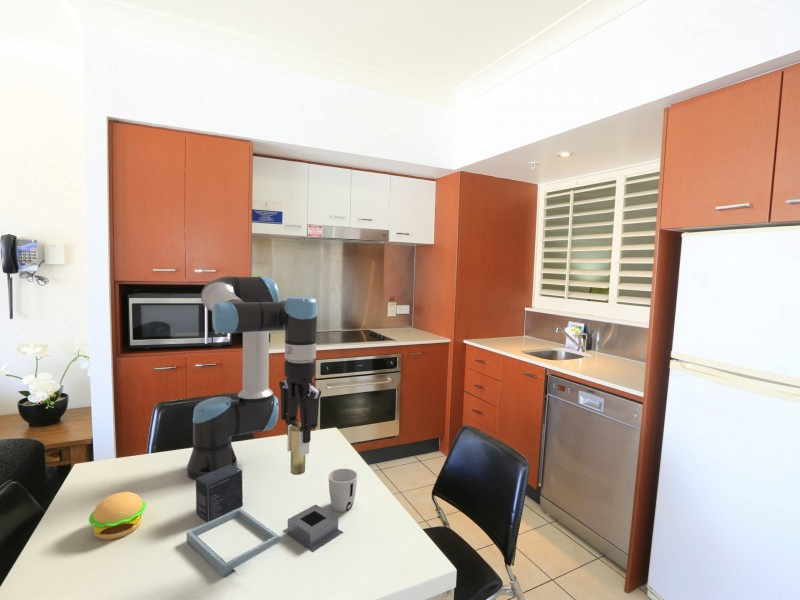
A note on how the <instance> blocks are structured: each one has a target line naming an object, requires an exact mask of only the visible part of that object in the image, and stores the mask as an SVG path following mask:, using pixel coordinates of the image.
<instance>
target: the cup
mask: <svg viewBox="0 0 800 600" xmlns="http://www.w3.org/2000/svg"><path fill="white" fill-rule="evenodd" d="M357 485H358V472H357V471H356V470H354V469H351V468H337V469H334V470H332V471H330V472H329V474H328V491H329V492H328V493H329V497H330V504H331V507H332V510H334V511H336V512H341V513H342V512H343V513H344V512H348V511H349V510H351V509H353V505H354V503H355V497H356V493H357Z"/></svg>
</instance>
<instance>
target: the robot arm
mask: <svg viewBox="0 0 800 600" xmlns="http://www.w3.org/2000/svg"><path fill="white" fill-rule="evenodd" d="M200 295H201V296H200V298H201V299H200V300H201V302H202V304H203V305H204V307H205V308H206V309H207V310H209V311H210V312H211V315H212V316H211V320H212V322H211V323H212V329H213V331H214V332H215V333H218V334H219V333H220V334H229V335H230V334H234V333H242V390H241V391H239V392H238V394H237V400H232V398H231V397H229V396H216V397H211V398H207V399H205V400H203V401H200V402H198V403H197V405H195V407H194V409H193V412H192V413H193V418H192V423H193V424H192V425H193V426H192V427H193V429H192V430H193V433H192V441H193V442H192V451H191V454H190V456H189V457H190V458H189V460H188V462H187V465H186V474H187V477H188V478H190V479H192V480H195V481H196V478H198V477H200V476H203V475H205V474H208V473H210V472H213V471H215V470H218V469H220V468H223V467H225V466H228V465H232V466H235V467H237V466H238V461H237V455H236V453H235V451H234V448H233V445H232V437H236V436H237V437H238V436H244V435H248V434H254V433H255V434H256V433H262V432H265V431H270V430H272V429H273V428H274V427H275V426H276V425H277V422H278V417H279V409H280V419H281V420H282V421H285V424H286V436H287V451H288V452H291V425H292V424H293V423H296V422H299V419H298V418H297V416H298V411H299V416H300V417H299V418H300V422H301V429H299V451H298V456H300V457H301V456H303V455H308V454H310V442H311V438H312V437H311V435H312V434H311V431H312V430H313V429H316V428H318V423H319V407H320V406H319V405H320V404H319V403H320V398H321V395H322V390H321V389H317V388H316V387H314V385H315V384H314V380H313V378H314V377H315V374H316V370H317V369H316V368H317V367H316V366H317V365H316V361H315V359H316V358H317V328H318V327H317V325H318V324H317V322H318V314H319V313H318V302H317V299H315V298H314V297H309V296H289V297H288V298H286V300H280V293H279V289H278V285H277V283H276V281H275V280H273V278H272V277H271V278H270V277H264V276H232V275H231V276H229V275H228V276H222V277H218V278H215V279H213V280H211V281H208V283H206V284H205V285H204V287H203V288H202V289H201V292H200ZM279 331H284V359H285V361H284V364H283V365H284V367H283V374H284V377H286V380H281V381H279V382H278V385H279V389H280V407H279V399H278V397H277V396H276V395H274V392H273V390H272V389H270V388H269V387H270V386H269V385H270V383H269V382H270V381H269V380H270V379H269V378H270V377H269V376H270V372H269V371H270V368H269V367H270V366H269V364H270V363H269V362H270V338H269V337H270V332H279ZM237 468H238V467H237Z"/></svg>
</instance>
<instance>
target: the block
mask: <svg viewBox="0 0 800 600" xmlns="http://www.w3.org/2000/svg"><path fill="white" fill-rule="evenodd" d="M282 533H284V534H286V535H287V536H288V537H290V538H292V539H293V540H294V541H295V542H296V543H298V544H300V545H301V546H302V547H304V548H305V549H307V550H308V551H309V552H312V553H314V552H316V551H317V550H318V549H320V548H322V547H323V546H325V545H326V544H328V543H329V542H331V541H333V540H334V539H336V538H337V537H339V536H341V535H343V534H344V531H343V530H341V529H339V517H338V516H337V515H335V514H333V513H331V512H330V511H328V510H326V509H324V508H323V507H321V506H319V505H317V503H316V504H314V505H311V506H310V507H308V508H306V509H304V510H302V511H300V512H299V513H297V514H295V515H292V516H291V517H290V518H288V519H287V527H286V528H285V529H284V530H282Z"/></svg>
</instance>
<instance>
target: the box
mask: <svg viewBox="0 0 800 600" xmlns="http://www.w3.org/2000/svg"><path fill="white" fill-rule="evenodd" d="M243 499H244V497H243V469H241V468H238V467H235V466H232V465H228V466H225V467H223V468H220V469H218V470H215V471H213V472H210V473H208V474H205V475H203V476H200V477H198V478H196V480H195V500H196V501H195V513H196V516H197V517H199V518H201V519H202V520H204V521H205V522H206V523H208V522H210V521H212V520H214V519H216V518H219V517H221V516H223V515H225V514H227V513H230V512H232V511H234V510H236V509H238V508H241V507H242V506H243V505H244V503H243V501H244V500H243Z"/></svg>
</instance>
